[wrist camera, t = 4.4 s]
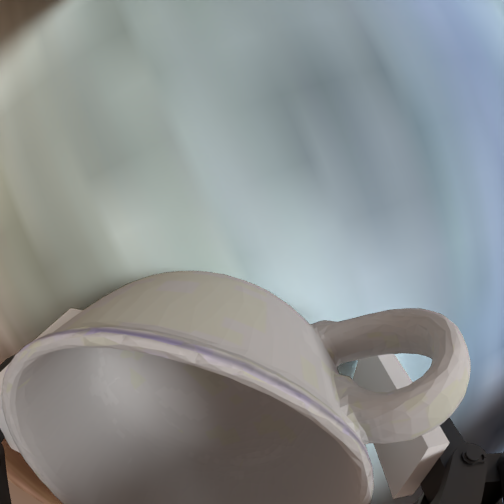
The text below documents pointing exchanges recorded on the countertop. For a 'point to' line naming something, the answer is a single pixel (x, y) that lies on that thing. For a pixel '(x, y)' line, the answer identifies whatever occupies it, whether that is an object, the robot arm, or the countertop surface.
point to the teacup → (220, 396)
